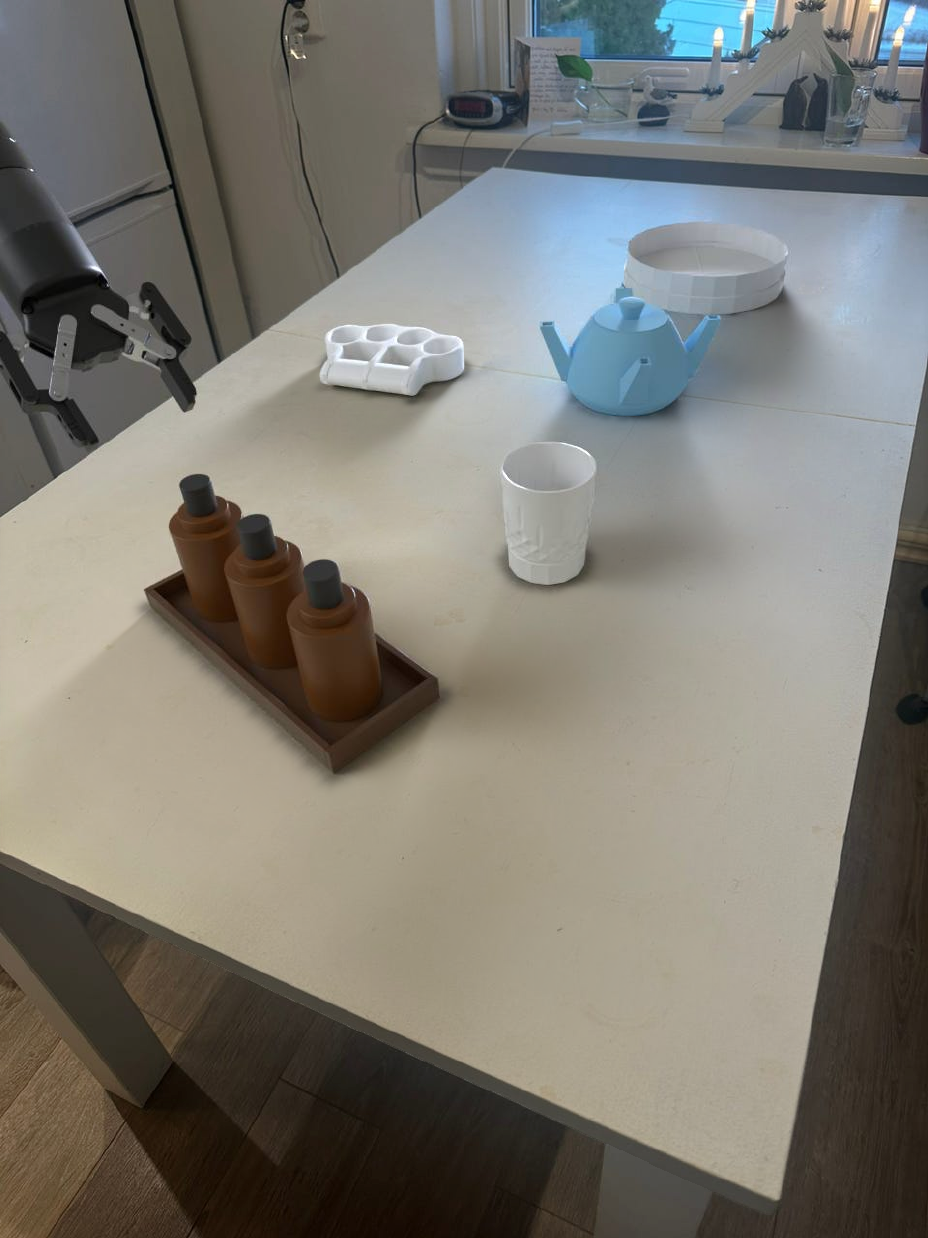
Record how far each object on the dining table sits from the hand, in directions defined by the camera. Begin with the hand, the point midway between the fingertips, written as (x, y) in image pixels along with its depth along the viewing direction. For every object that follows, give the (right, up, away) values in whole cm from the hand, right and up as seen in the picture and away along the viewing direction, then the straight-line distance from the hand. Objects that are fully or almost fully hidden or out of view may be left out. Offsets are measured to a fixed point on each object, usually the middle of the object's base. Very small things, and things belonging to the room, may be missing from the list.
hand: (143, 426), depth 70 cm
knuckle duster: (+17, +15, +39) cm, 45 cm away
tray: (+11, -18, +1) cm, 21 cm away
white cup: (+33, -10, +8) cm, 36 cm away
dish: (+60, +32, +55) cm, 87 cm away
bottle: (+5, -14, +5) cm, 16 cm away
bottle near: (+17, -21, -4) cm, 27 cm away
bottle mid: (+11, -17, +1) cm, 21 cm away
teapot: (+44, +11, +31) cm, 55 cm away
